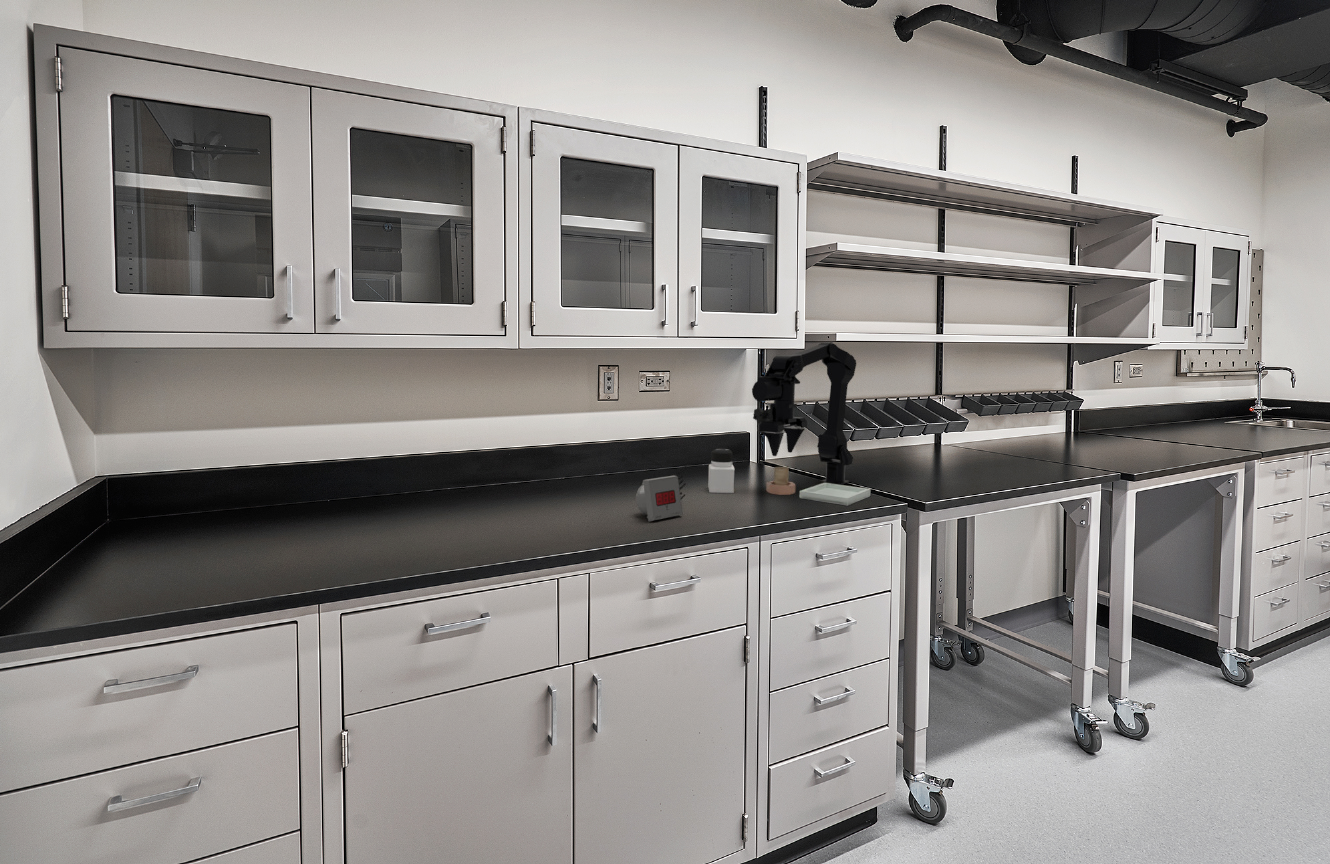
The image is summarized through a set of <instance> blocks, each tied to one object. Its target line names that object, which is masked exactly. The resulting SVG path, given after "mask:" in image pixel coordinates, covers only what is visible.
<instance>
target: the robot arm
mask: <svg viewBox="0 0 1330 864" xmlns="http://www.w3.org/2000/svg"><path fill="white" fill-rule="evenodd" d="M819 361H821V363H822V364H823V365H824V366H825V367H826V375H827V377H828V379H829V381H830V389H829V390H830V392H829V401H828V408H827V419H826V426H825V427H826V428H825V431H824V432H823V433H822V434H820V433H819V435H818V440H817V441H818V442H817V445H816V448H817V451H818V455H819V459H820V460H819V461H820V462H821V463H826V466H825V467H826V468H825V479H822V480H821V481H820V482H821V483H830V484H837V485H844V484H847V483H850V480H848V479H847V480H846V478H845V477H846V466H850V465H852V463H853V460H854V457H853V455H852V454H851V452H850V450H848V439H847V437H846V435H845V433H844V423H845V414H846V404H847V403H846V402H847V395H848V385H849V383H850V382H851V380H852V379H853V378H854V376H855V373H856V372H855V371H856V367H857V359H855V357H854V356H853V354H850V353H849V352H848V351H846V350H844V349H842V348H840V347H838V346H837V344H835V343H834V342H821V343H819V344H817V345H815V346H812V347H809V348H807V349H804V350H802V351H799V352H796V353H793V354H781V355H780V354H778V355H776V356H774V357H772V362H771V363H770V365H769V367H768V369H767V370H766V373H765V375H764V376H758V377H757V381H755V383H754V384H753V386H752V389H751V394H752V397H753V399H754V401H756V402H771V401H772V403H770V405H769V408H768V409H763V408H762V407H759V408H758V407H757V408H755V409H754V410H753V417H752V418H753V420H755V421H756V423H757V425H758V427H757V429H758V431H759V432H760V433H761V434H762V435H763V436H765V437H766V439H767V441H768V444H769V449H770V451H771V452H770V453H771V456H773V457H777V456H778V454H779V449H780V447H781V444H782V440H783V437H784V434H786V446H787V453H793V451H794V449H795V447H796V445H797V443H798V441H799V439H800V437H801V436H802V434H803V432H804V431H805V430H806V428H807V427H808V420H807V418H805V417H802V416H795V408H798V403H795V391H796V390H795V388H796V386H795V385H799V384H801V381H800V379H798V378H797V375H798V374H800V373H801V372H802V371H803V369H804V368H805V367H807V366H809V365H812V364H814V363H817V362H819Z"/></svg>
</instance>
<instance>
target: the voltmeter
mask: <svg viewBox="0 0 1330 864" xmlns="http://www.w3.org/2000/svg"><path fill="white" fill-rule="evenodd" d="M686 469H687V466H686V465H685V466H684V467H682V469H680V470H679V471H677V472H676V475H670V476H661V477H655V478H649V479H648V478H647V479H643V480H642V484H641V485H640V486H639V487H638V490H636V491H637V492H636V494H635V503H636V506H637V509H638V511H640V512H641V514H643V515H646V519H647V521H648V522H653V521H658V520H662V519H668V518H673V517H679V516H681V515H684V512H683V506H682V500H683V499H684V497H685V496H686V494H683V491H681V489H682V490H683V488H684V487H685V486H686V483H687V482H684V479H682V478H683V474H681V473H683V472H684V471H685V470H686ZM680 474H681V475H680ZM679 475H680V476H679ZM678 476H679V477H678ZM680 480H681V481H680ZM681 484H682V485H681ZM680 485H681V487H680ZM681 495H682V496H681Z"/></svg>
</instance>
